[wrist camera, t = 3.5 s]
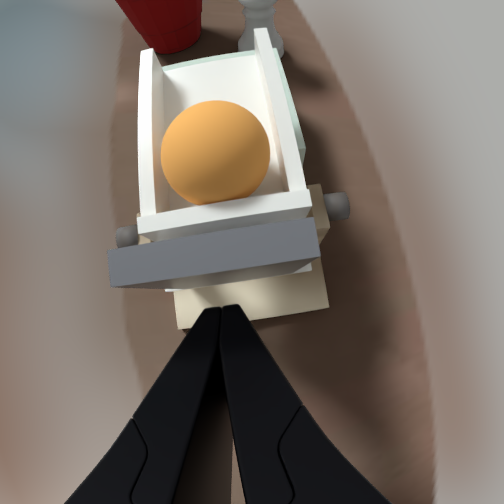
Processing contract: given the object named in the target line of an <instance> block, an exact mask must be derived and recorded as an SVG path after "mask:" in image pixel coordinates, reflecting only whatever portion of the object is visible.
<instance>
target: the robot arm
mask: <svg viewBox="0 0 504 504" xmlns="http://www.w3.org/2000/svg"><path fill="white" fill-rule="evenodd" d="M132 417H133V419H130V420H129V422H128V423H127V425H126V426H125V428H124V429H123V431H122V432H121V433H120V435H119V437H118V438H117V439H116V441H115V442H114V443H113V445H112V446H111V448H110V449H109V450H108V452H107V453H106V454H105V455H104V457H103V458H102V459H101V460H100V462H99V463H98V464H97V466H96V467H95V468H94V469H93V470H92V472H91V473H90V474H89V475H88V476H87V477H86V479H85V480H84V481H83V482H82V483H81V484H80V486H79V487H78V488H77V489H76V490H75V491H74V493H73V494H72V495H71V496H70V497H69V498H68V500H67V501H66V502H65V503H64V504H231V478H232V447H233V439H234V445H235V451H236V456H237V461H238V467H239V472H240V477H241V482H242V488H243V493H244V497H245V502H246V504H392V503H391V502H390V501H389V500H388V499H386V498H385V497H384V496H383V495H382V494H381V493H380V492H379V491H378V490H377V489H376V488H375V487H374V486H373V485H372V484H371V483H370V482H369V481H368V480H367V479H366V478H365V477H364V476H363V475H362V474H361V473H360V472H359V471H358V470H357V469H356V468H355V467H354V466H353V465H352V464H351V463H350V462H349V461H348V460H347V459H346V458H345V457H344V456H343V455H342V454H341V452H340V451H339V450H338V449H337V448H336V447H335V446H334V444H333V443H332V442H331V441H330V440H329V439H328V438H327V436H326V435H325V434H324V432H323V431H322V430H321V428H320V427H319V425H318V424H317V423H316V421H315V420H314V419H313V417H312V416H311V414H310V413H309V411H308V410H307V408H306V407H305V406H304V405H303V403H302V401H301V400H300V398H299V397H298V395H297V394H296V392H295V391H294V389H293V388H292V386H291V385H290V383H289V382H288V380H287V378H286V377H285V375H284V374H283V372H282V371H281V369H280V368H279V366H278V365H277V363H276V362H275V360H274V358H273V357H272V355H271V354H270V352H269V351H268V349H267V348H266V346H265V344H264V343H263V341H262V340H261V338H260V337H259V335H258V333H257V332H256V330H255V329H254V327H253V325H252V324H251V322H250V321H249V319H248V317H247V316H246V314H245V313H244V311H243V309H242V308H241V306H240V305H239V304H231V305H225V306H223V307H222V308H221V307H220V306H217V307H209V308H205V309H204V310H203V311H202V312H201V314H200V315H199V317H198V318H197V320H196V321H195V323H194V324H193V326H192V327H191V329H190V330H189V332H188V333H187V335H186V336H185V338H184V339H183V341H182V342H181V344H180V345H179V347H178V348H177V350H176V351H175V353H174V354H173V356H172V357H171V359H170V360H169V362H168V363H167V365H166V366H165V368H164V369H163V371H162V372H161V374H160V375H159V377H158V378H157V380H156V381H155V383H154V384H153V386H152V387H151V389H150V390H149V392H148V393H147V395H146V396H145V398H144V399H143V401H142V402H141V404H140V405H139V407H138V408H137V410H136V411H135V413H134V414H133V416H132Z"/></svg>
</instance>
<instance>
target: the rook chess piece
mask: <svg viewBox="0 0 504 504" xmlns="http://www.w3.org/2000/svg"><path fill="white" fill-rule="evenodd" d="M276 1H277V0H239V2H240V3H242V4H243V5H244V6H245V8H244V9H243V10H242V11H243V14H244V15H245V18H246V20H245V30H244V32H243V34H242V36H241V38H240V39H239V41H238V52H243V51H251V50H255V44H254V29H256V28H267V31H268V34H269V38H270V41H271V45H272V48H277V51H278V54H279V58H281V57H282V56H283V54H284V48H283V46H284V45H283V40H282V38H281V37H280V36H279V34H278V32H277V31H276V30H275V26H274V21H273V15H274V13H275V12H276V11H275V8H273V4H274V3H276Z"/></svg>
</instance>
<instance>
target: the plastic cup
mask: <svg viewBox="0 0 504 504" xmlns="http://www.w3.org/2000/svg"><path fill="white" fill-rule="evenodd" d="M115 1H116V2H117V3H118V5H119V6H120V7H121V9H122V10H123V12H124V13H125V14H126V16H127V17H128V19H129V20H130V22H131V23H132V24H133V26H134V27H135V29H136V30H137V31H138V32H139V34H141V36H142V37H143V39H144V40H145V42H146V43H147V44H148V46H149V47H150V48H153V50H154V52H157V53H160V54H171V53H175V52H179V51H182V50H184V49H186V48H188V47H190V46H191V45H193V44H194V43H195V42H196V41H197V40H198V38H199V37H200V32H201V12H202V0H115Z"/></svg>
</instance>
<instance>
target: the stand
mask: <svg viewBox="0 0 504 504" xmlns="http://www.w3.org/2000/svg"><path fill="white" fill-rule="evenodd" d="M306 188H307V189H309V192H310V197H311V202H312V207H311V209H310V211H309V213H308V215H307V216H306V218H309V217H314V221H315V226H316V232H317V237H318V243H319V245H320V243H321V242H322V240H323V238H324V237H325V235H326V233H327V232H328V230H329V229H330V223H329V221H335V220H342V219H348V218H349V215H350V206H349V200H348V197H347V195H346V193H345V192H338V193H330V194H323V193H322V189H321V184H313V185H307V187H306ZM137 217H141V213H137ZM151 242H154V241H152V240H150V239H148V238H146V237H143V236H141V235H139V234H138V225H137V224H136V225H131V226H126V227H121V228H118V229H117V232H116V243H117V247H118V248H122V247H128V246H134V245H139V244H145V243H151ZM311 267H312V270H311V271H307V272H301V273H295V274H288V275H282V276H276V277H269V278H263V279H256V280H249V281H243V282H236V283H229V284H222V285H215V286H208V287H201V288H194V289H186V290H179V291H174V300H175V309H176V317H177V325H178V329H187V328H191V327H192V326H193V324H194V323H195V321H196V320H197V318H198V317H199V315H200V314H201V312H202V311H203V310H204V309H205V308H209V307H217V306H220V307H221V308H222V307H223V306H225V305H231V304H239V305H240V306H241V308H242V309H243V311H244V313H245V314H246V316H247V317H248V319H249V321H250V320H257V319H264V318H270V317H277V316H283V315H289V314H296V313H302V312H307V311H313V310H319V309H324V308H329V303H328V297H327V291H326V285H325V279H324V274H323V268H322V263H321V258H320V257H319V258H317V259H315V260H314V261H312V262H311Z"/></svg>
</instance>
